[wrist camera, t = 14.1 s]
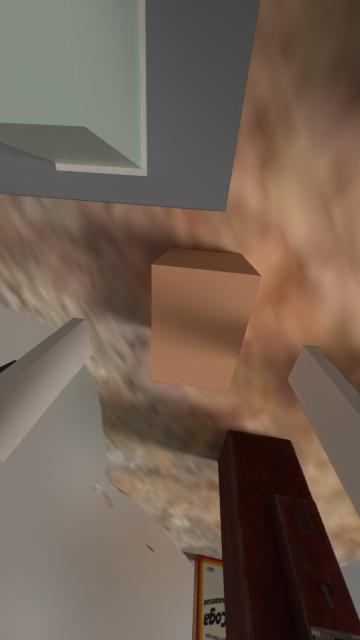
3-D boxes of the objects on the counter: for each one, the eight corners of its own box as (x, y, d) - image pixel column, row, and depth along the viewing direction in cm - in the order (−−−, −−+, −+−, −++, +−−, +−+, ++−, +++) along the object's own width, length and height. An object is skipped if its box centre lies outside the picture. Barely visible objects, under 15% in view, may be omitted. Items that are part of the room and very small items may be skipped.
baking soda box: (229, 561, 57) (237, 674, 43) (224, 566, 60) (230, 673, 46) (198, 554, 57) (195, 663, 43) (194, 560, 60) (191, 663, 46)
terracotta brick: (171, 247, 17) (151, 264, 11) (241, 253, 16) (261, 275, 10) (167, 333, 21) (151, 380, 15) (222, 340, 21) (228, 392, 15)
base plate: (-78, -101, 10) (-123, -151, 9) (276, -119, 9) (288, -181, 7) (10, 194, 16) (-7, 192, 15) (223, 211, 15) (225, 211, 14)
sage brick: (14, -76, 9) (-378, -673, 3) (137, -81, 9) (-31, -795, 3) (59, 163, 13) (-65, 119, 7) (142, 168, 13) (84, 126, 7)
